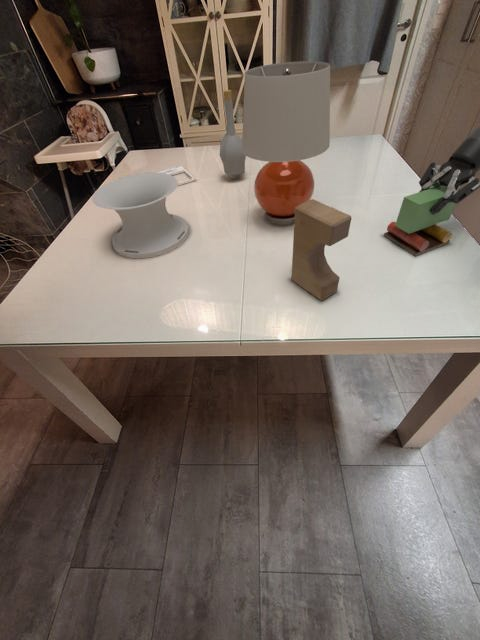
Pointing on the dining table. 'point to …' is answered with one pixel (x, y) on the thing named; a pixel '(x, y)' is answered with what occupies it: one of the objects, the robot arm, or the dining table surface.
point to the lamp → (285, 132)
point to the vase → (143, 214)
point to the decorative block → (316, 246)
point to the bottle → (231, 143)
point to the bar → (423, 210)
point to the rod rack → (418, 238)
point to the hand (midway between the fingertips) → (423, 208)
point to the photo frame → (177, 171)
